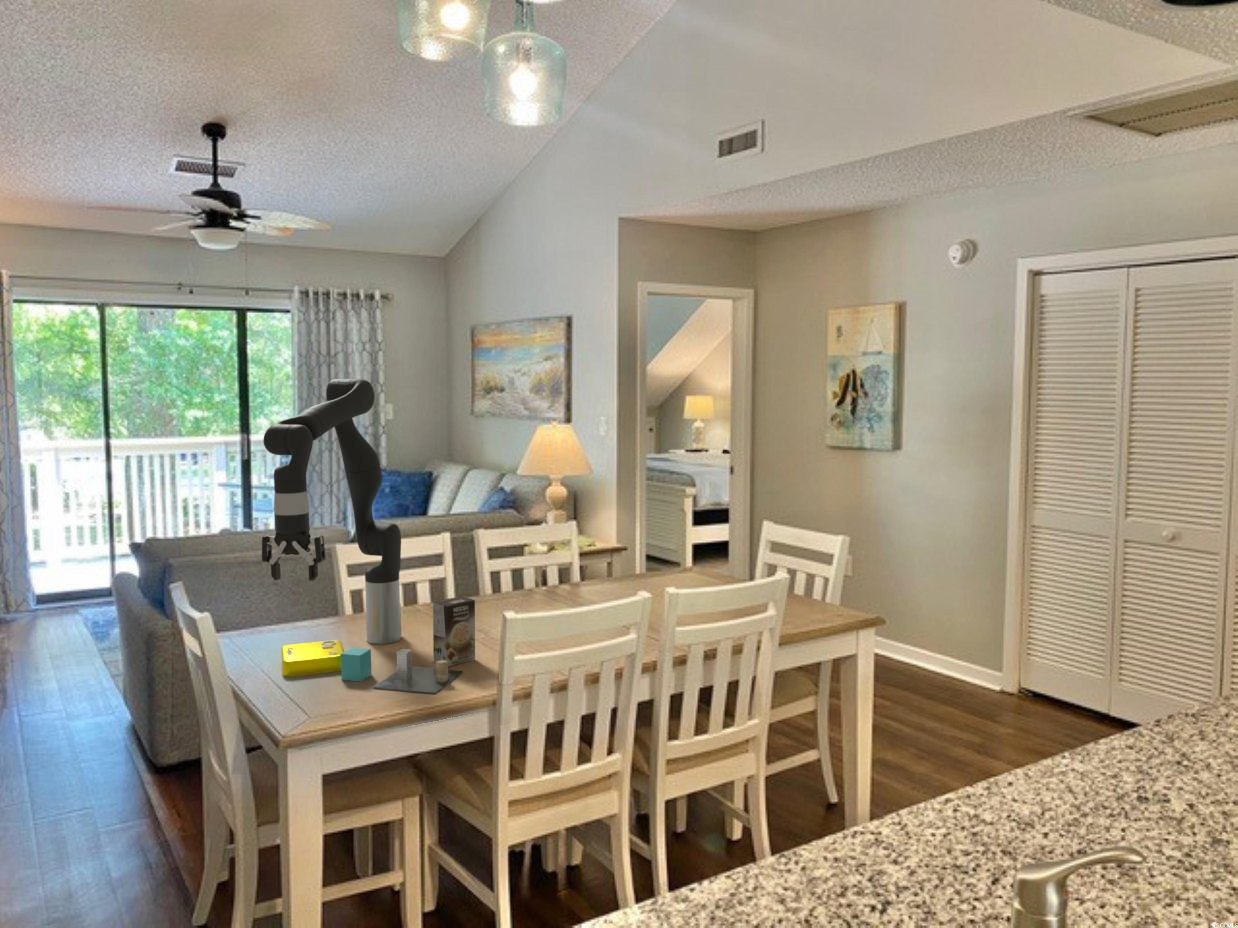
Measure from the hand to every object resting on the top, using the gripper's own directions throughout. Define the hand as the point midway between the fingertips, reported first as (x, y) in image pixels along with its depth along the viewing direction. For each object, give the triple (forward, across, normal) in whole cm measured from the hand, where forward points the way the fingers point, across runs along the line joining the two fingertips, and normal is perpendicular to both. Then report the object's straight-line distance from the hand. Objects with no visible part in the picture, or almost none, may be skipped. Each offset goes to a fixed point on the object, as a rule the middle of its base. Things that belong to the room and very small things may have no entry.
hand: (294, 579), depth 212 cm
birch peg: (+27, -32, -10) cm, 43 cm away
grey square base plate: (+27, -26, -11) cm, 39 cm away
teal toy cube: (+27, -10, -11) cm, 31 cm away
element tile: (+28, +5, -20) cm, 35 cm away
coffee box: (+28, -30, -26) cm, 49 cm away
